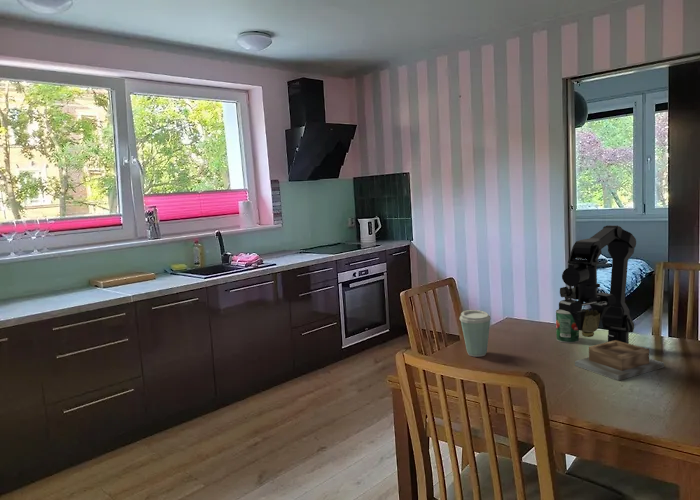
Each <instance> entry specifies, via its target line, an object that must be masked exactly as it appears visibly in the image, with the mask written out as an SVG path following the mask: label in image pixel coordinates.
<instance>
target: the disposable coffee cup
mask: <svg viewBox="0 0 700 500" xmlns="http://www.w3.org/2000/svg"><path fill="white" fill-rule="evenodd" d="M491 319H492V318H491V315H489V313H487V312H486V311H482V310H477V309H471V310H470V309H468V310H464V311H462V312H461V313H460V315H459V319H458V320H459V321H460V324H461V325H460V326H461V330H462V334H463V338H464V343H465V350H466V352H467V354H468V356H470V357H477V358H478V357H479V358H480V357H484V356H486V355H487V352H488V344H489V343H488V342H489V335H490V325H491Z"/></svg>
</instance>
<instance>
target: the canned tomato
mask: <svg viewBox="0 0 700 500" xmlns="http://www.w3.org/2000/svg"><path fill="white" fill-rule="evenodd" d="M555 327H556V328H555V330H556V331H555V333H556V338H555V339H556V341H558V342H560V343H566V344H573V343H578V342H579V341H580V330H578V328H577V326H576V324H575V321H574V319H573V317H572V315H571V313H570V312H568V311H564V310H560V309H559V308H557V309H555Z"/></svg>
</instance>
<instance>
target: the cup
mask: <svg viewBox="0 0 700 500" xmlns="http://www.w3.org/2000/svg"><path fill="white" fill-rule="evenodd" d="M582 310H583V311H585V317H584V322H583V327H582V330H581V331H580V332H581V335H582V336H583V337H585V338H591V337H594V335H595V332H596V331H597V330H598V329H599V325H600V323H599V320H600V313H599V311H598V312H597V310H595V311H593V309H592V308H590V310H589V309H584V308H582Z"/></svg>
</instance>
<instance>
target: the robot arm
mask: <svg viewBox="0 0 700 500" xmlns="http://www.w3.org/2000/svg"><path fill="white" fill-rule="evenodd" d="M636 245H637V238H636V237H635V236H634V235H633V233H631V232H629V231H627V230H625V229H623V227H622V226H620V225H609V224H608V225H604V226H603V227H602V228H601V230H599V231H598V232H596V233H595V234H593V235H592V236H590V237H589V238H583V239H578V240H577V241H575V242H574V244H573V245H572V248H571V251H570V254H569V257H568V259H567V268H565V269H564V270H563V272H562V274H561V278H562V281H563V282H564V284H565V285H567V286H563V287H560V288H559V296H560V297H561V298H564V299H563V300H560V301H559V302H558V309H560V310H564V311H568V312H570V313H571V315H572V317H573V319H574V321H575V324H576V326H577V328H578V330H579V332H582V331H581V330H582V327H583V322H584V317H585V311H586V310H585V311H583V307H585V306H590V307H591V309H592V310H593V311H595V310H597V312H598V311H599V313H600V320H599V324H600V323H601V324H602V329H603V330H607V331H608V332H607V333H608V334H607V342H610V341H614V340H617V341H621V342H624V343H628V344H630V343H629V340H630V337H629V335H630V334H629V333H634V329H635V323H634V321H633V318H631V316H630V309H629V307H628V305H627V303H626V293H627V292H626V291H627V277H628V266H629V265H628V264H629V260H630V258H631V257H632V256H633V254H634V253H635V248H636ZM606 246H607V251H608V254H609V257H611V259H612V262H611V272H610V273H611V276H610V287H609V293H606V292H604V291H603V292H598V288H601V284H600V283H599V282H598V274H597V273H598V272H597V271H598V270H597V268H598V267H597V266H598V265H599V263H600V262H599V259H600V256H601V255H602V254H603V253H602V249H604V248H605V247H606ZM568 286H569V287H572V288H569V287H568Z"/></svg>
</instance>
